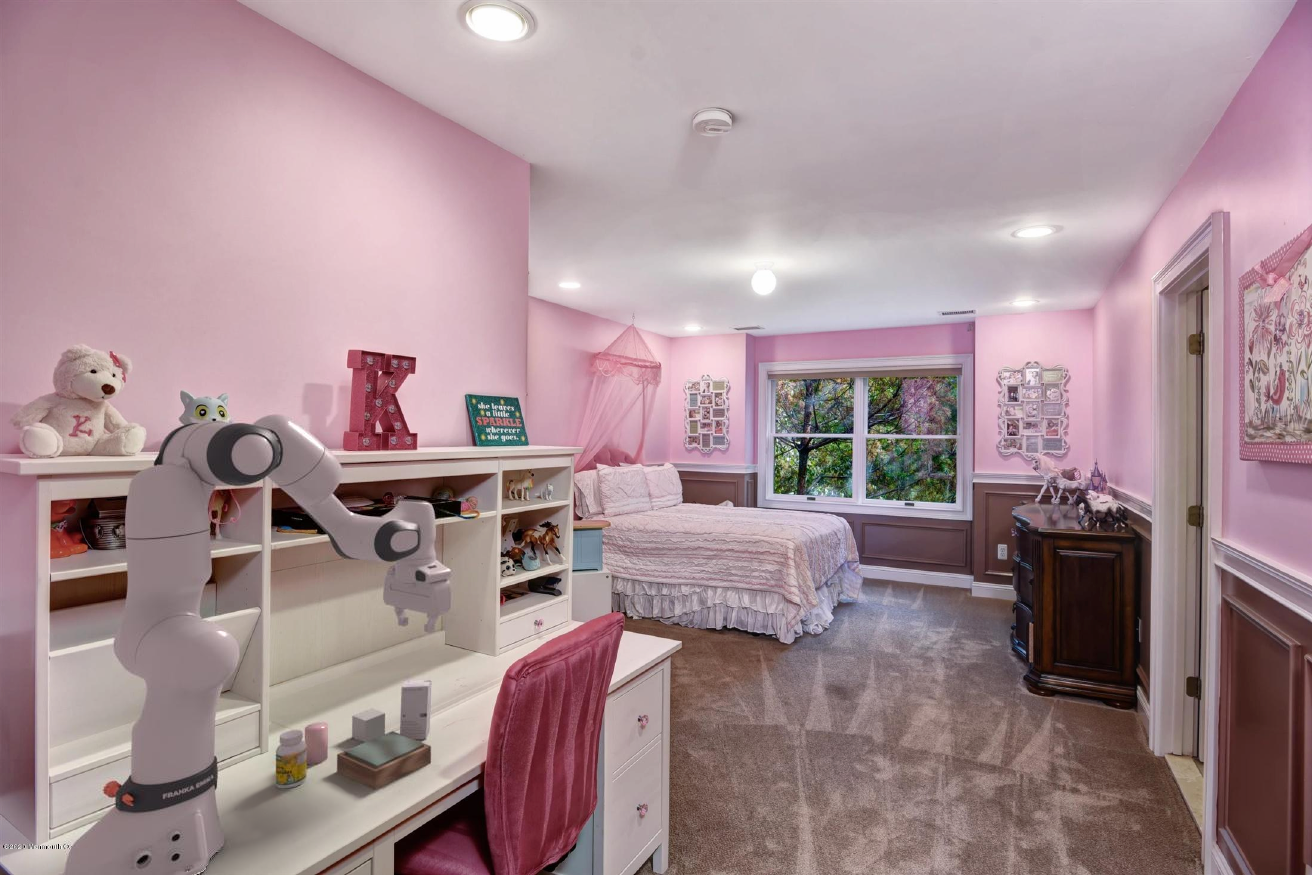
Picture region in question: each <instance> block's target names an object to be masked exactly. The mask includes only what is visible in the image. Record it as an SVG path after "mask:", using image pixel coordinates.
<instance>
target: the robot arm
mask: <svg viewBox="0 0 1312 875" xmlns="http://www.w3.org/2000/svg"><path fill="white" fill-rule="evenodd" d="M342 468H343V467H342V465H341V463H340V461H339V460H338V459H337V457H336V456H335V455H334V453H333V452H332V451H331V449H328V447H327V446H325V445H324V443H322V442H321V440H320V439H318V438H317V437H316V436H314V434H312V433H311V432H309V431H308V430H307V429H306V428H304V426H302V425H300V424H299V423H297V422H296V421H294V420H292V419H290V418H289V417H287V416H286V415H283V414H270V415H265V416H263V417H260V418H259V419H257V420H255V421H254V423H243V422H236V423H234V422H228V421H227V422H226V421H222V420H221V421H219V420H218V421H217V420H216V421H214V420H213V421H205V422H191V423H187V424H184V425H181V426H179V427H177V428H175V429H173V430H172V431H171V432H169V433H168V435H166V436H165V437H164V439H163V441H162V442H161V445H160V448H159V452H158V455H157V457H156V458H155V459H154V461H153V466H150V467H148V468H144V469H142V470H141V471H139V472H138V473H136V474H135V475H134V476H133V478H132V479H131V480H130V483H129V487H128V488H129V489H128V492H127V498H126V507H125V521H124V522H125V523H124V524H125V526H124V528H125V529H124V530H125V531H124V532H125V547H126V548H125V549H126V554H125V555H126V569H127V588H126V589H127V590H126V599H125V605H124V609H123V614H122V620H121V626H120V627H119V628H118V630H117V631H116V634H115V636H114V639H113V646H112V647H113V652H114V654H115V657H116V658H117V660H118V661H119V663H120V664H121V665H122V667H123V669H124V670H126V671H127V672H129V673H130V674H132V675H134V676H136V677H138V678H141V679H143V680H144V682H145V685H146V695H145V700H144V703H143V707H142V710H141V713H140V717H139V718H138V719H137V720H136V722H135V723H134V724H133V726H132V729H131V748H130V749H131V752H130V753H131V755H130V760H131V761H130V775H129V776H128V778H127V779H126V780H125V782H124V783H123V784H121V783H119V782H118V781H117V780H111V781H109V782H107V783H106V784H105V786H103V789H102V792H103V794H104V795H105V796H107V797H108V798H112V799H113V798H115V802H114V803H115V804H114V806H113V807H111V809H110V810H109V811H108V812H107V813H106V814H105V815H103V816H102V817H101V818H99V820H97V821H96V823H95V824H93V825H92V826H91V827H90V828H89V829H88V830H87V831H86V832H84V834H82V835H81V836H80V837H78V839H76V841H74V843H73V844H72V846H71V847H70V849H69V852H68V855H67V859H66V861H65V867H64V872H62V873H60V874H59V875H194V874H197V873H198V872H201V871H203V870H204V869H205V868H206V866H207V864H208V865H209V863H210V861H211V860H210V858H211V857H212V856H213V855H214V854H215V853H216V852H219V851H220V850H221V849H222V848H221V847H224V845H225V842H224V841H226V836H225V834H224V831H223V828H222V825H221V821H220V816H219V813H218V812H219V811H218V807H217V806H218V805H217V798H216V797H217V796H216V790H217V788H218V779H219V778H218V777H219V769H218V757H217V756H216V755H215V745H216V744H215V738H216V737H215V736H216V715H217V710H218V704H219V701H220V697H221V693H222V690H223V687H224V684H225V682H226V681H228V680H229V678H230V677H231V676H232V675H233V674H234V672H235V670H236V668H237V666H238V663H239V660H240V646H239V643H238V641H237V640H236V639H235V637H234V636H233V635H232V634H231V633H230V632H229V631H228V630H227V629H225V628H224V627H223V626H221V625H220V624H218V623H216V622H213V621H209V620H207V619H202V616H201V612H200V609H201V607H200V606H201V601H202V596H203V592H204V589H205V586H206V583H208V581H209V580H210V578H211V576H212V573H213V570H212V569H213V567H212V548H211V530H210V528H211V527H210V518H209V510H208V508H209V504H210V499H211V496H212V495H213V492H214V491H215V489H216V487H228V486H232V487H233V486H234V487H245V486H248V485H252V484H255V483H257V482H260V481H261V480H263V479H265V478H266V477H267V478H268V479H270V481H271V482H273V483H274V484H276V486H278V487H279V488H280V489H281V490H282V491H283V492H284V493H286V494H287V495H288V496H289V497H290V498H292V499H293V500H294V501H295V503H296V504H297V505H298V506H299V507H300V508H301V509H302V510H303V511H304V512H305V513H306V514H307V515H308V516H309V517H310V518H311V519H312V520H313V521H314V522H315V523H316V524H317V525H318V526H319V527H320V528H321V529H322V530H323V532H324V533H325V534H326V536H327V537H328V539H329V541H330V543H331V545H332V548H333V549H334V551H335V552H336V554H338V555H339V556H340V557H341V558H343V559H345V560H362V561H363V560H364V561H369V562H380V563H392V562H394V564H393V565H390V567H388V569H387V570H386V576H385V578H384V581H383V582H384V584H383V592H382V593H383V594H382V596H383V597H382V598H383V599H382V600H383V602H384V605H386V606H387V605H388V606H391V607H394V608H393V609H394V611H393V612H394V613H395V615H396V618H397V626H399V627H406V626H408V625H409V617H407V615H406V611H405V610H409V611H414V612H418V613H422V614H426V618H427V619H428V620H427V623H426V624H424V625H423V627H424V630H423V631H424V633H428V634H432V633H434V632H435V630H436V628H435V627H436V626H435V624H436V623H437V621H438V619H439V617H440V616H442V615H447V614H448V613H449V612H450V610H451V609H452V586H451V582H450V580H448V579H450V578H452V571H451V569H450V568H449V567H447V566H446V565H444V564H443V563H441V562H440V561H439V560H437V553H436V550H435V541H436V536H437V534H436V533H437V530H436V529H437V525H436V514H435V510H434V507H433V505H432V503H431V502H429V501H427V500H419V499H410V498H409V499H401V500H398V502H397V504H396V506H394V507H393V509H392V510H391V511H389V512H387V513H385V514H384V515H381V516H369V515H362V514H358V513H354V512H352V511H350V510H348V509H347V507H346V506H345V505H344V504H343V503H342V502H341V501H340V500H339V499H338V498H337V496H336V495H335V494H334V492H335V490H336V489H337V488H338V487H339V485H340V483H341V480H342V476H343V469H342ZM218 850H219V851H218ZM215 855H216V854H215ZM215 855H214V856H215ZM214 856H213V857H214ZM213 857H212V858H213ZM212 858H211V859H212ZM209 860H210V861H209ZM208 862H209V863H208ZM207 867H208V866H207ZM206 869H207V868H206ZM187 871H188V872H187Z"/></svg>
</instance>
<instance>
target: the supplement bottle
mask: <svg viewBox="0 0 1312 875" xmlns="http://www.w3.org/2000/svg"><path fill="white" fill-rule="evenodd" d="M303 738H304V736H303V731H302V730H301V729H292V730H287V731H285V732H282V733H281V734H280V735H279V746H277V747H276V750H275V786H276V787H277V788H279V789H290V788H291V789H292V788H295V787H297V786H300V785H301V784H303V783H304V782H306V779H307V769H308V768H307V765H308V764H307V746H306V743H305V740H303Z"/></svg>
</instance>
